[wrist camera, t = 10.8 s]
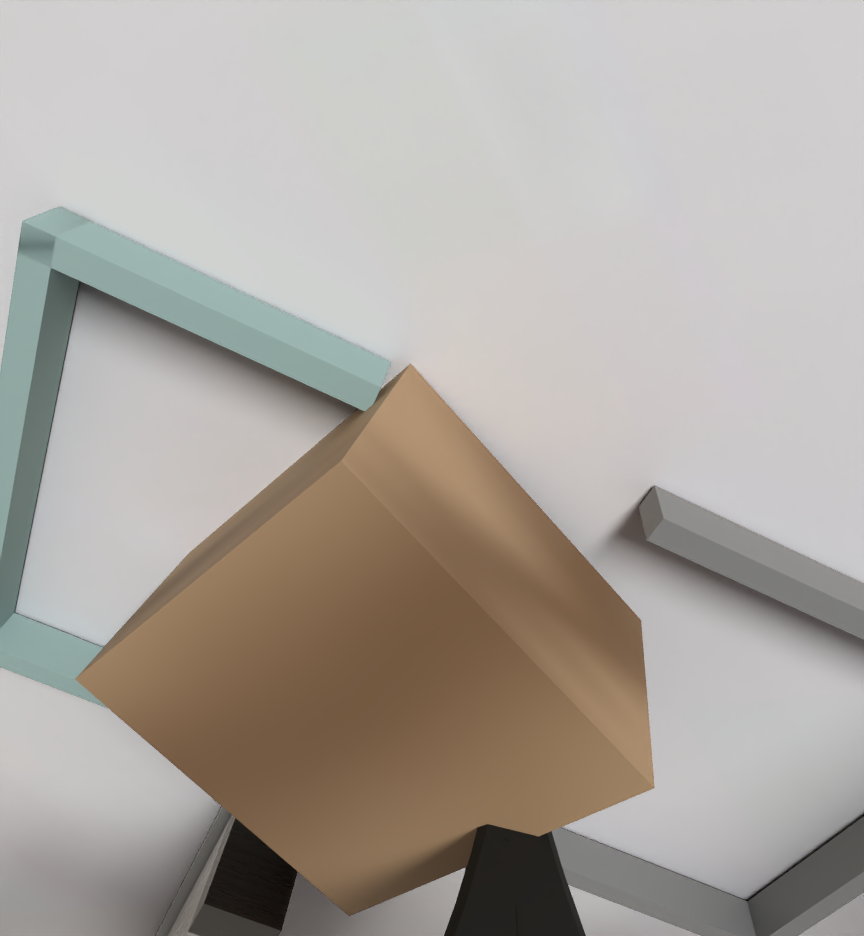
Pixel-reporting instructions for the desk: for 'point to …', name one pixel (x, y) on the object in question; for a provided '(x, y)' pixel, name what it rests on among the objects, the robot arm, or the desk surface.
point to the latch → (238, 889)
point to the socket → (652, 887)
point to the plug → (388, 659)
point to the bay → (40, 365)
